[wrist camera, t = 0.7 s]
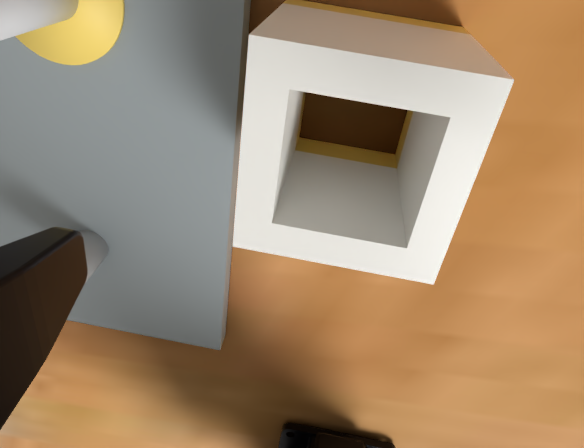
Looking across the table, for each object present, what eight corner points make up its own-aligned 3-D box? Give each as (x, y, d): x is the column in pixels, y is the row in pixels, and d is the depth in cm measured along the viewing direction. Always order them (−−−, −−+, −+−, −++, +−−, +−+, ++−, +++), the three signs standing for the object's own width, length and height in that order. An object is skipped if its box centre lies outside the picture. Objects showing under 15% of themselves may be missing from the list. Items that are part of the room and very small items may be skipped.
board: (225, 335, 24) (194, 423, 19) (-2, 290, 24) (-80, 367, 20) (264, -179, 13) (214, -231, 8) (-155, -243, 13) (-399, -321, 9)
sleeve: (414, 183, 18) (433, 284, 13) (270, 156, 18) (232, 246, 13) (463, 27, 15) (514, 79, 10) (288, -3, 15) (248, 34, 10)
